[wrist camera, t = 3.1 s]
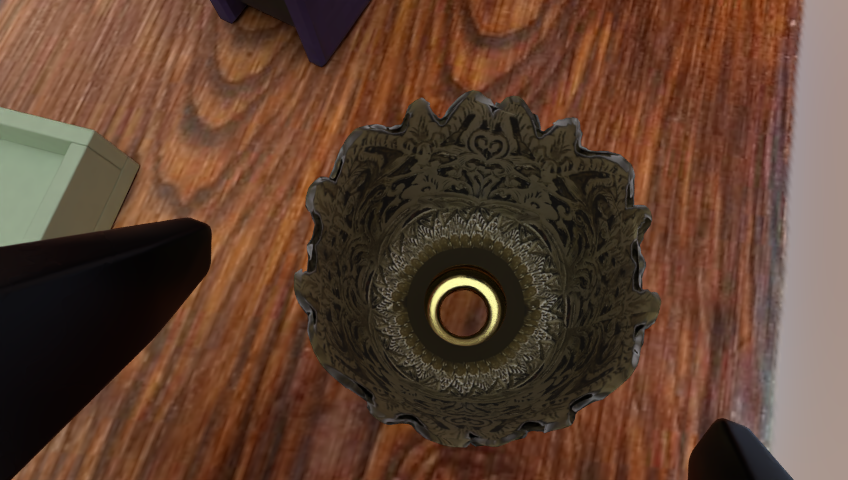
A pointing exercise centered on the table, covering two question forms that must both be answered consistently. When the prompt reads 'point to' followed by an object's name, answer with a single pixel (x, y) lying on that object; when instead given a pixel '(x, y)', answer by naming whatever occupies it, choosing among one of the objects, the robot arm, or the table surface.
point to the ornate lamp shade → (476, 271)
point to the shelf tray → (57, 179)
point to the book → (304, 20)
